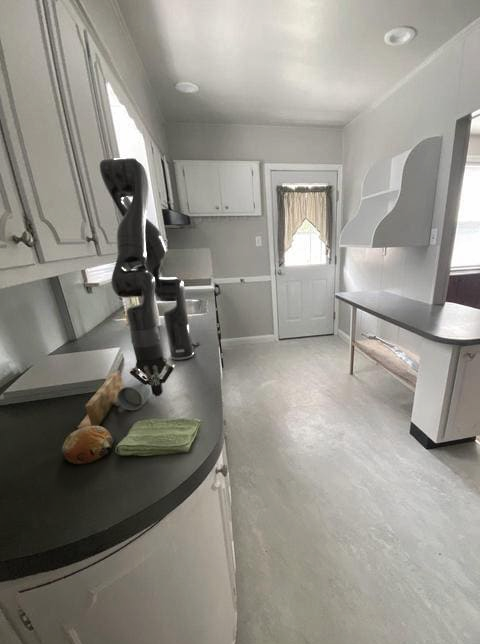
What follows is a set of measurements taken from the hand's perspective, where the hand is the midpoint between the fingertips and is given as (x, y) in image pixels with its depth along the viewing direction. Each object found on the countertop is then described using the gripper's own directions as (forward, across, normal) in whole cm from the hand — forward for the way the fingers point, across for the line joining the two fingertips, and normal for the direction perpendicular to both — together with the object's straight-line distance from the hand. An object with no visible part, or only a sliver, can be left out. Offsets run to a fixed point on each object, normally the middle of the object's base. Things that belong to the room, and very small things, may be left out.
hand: (158, 394), depth 95 cm
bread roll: (+2, +12, +23) cm, 26 cm away
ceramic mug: (+2, +8, 0) cm, 8 cm away
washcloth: (+2, -4, +22) cm, 22 cm away
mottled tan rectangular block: (+2, +16, 0) cm, 16 cm away
